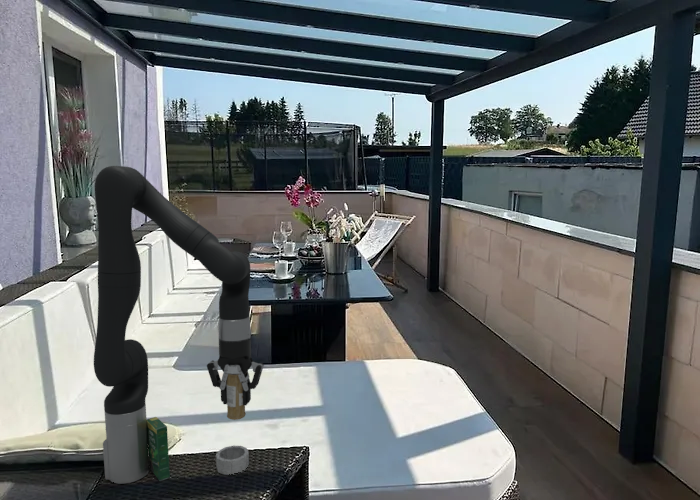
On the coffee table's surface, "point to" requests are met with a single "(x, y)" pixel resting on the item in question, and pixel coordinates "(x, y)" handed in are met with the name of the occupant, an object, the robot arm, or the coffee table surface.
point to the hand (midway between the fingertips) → (236, 403)
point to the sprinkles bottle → (234, 395)
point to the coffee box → (158, 448)
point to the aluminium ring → (232, 460)
